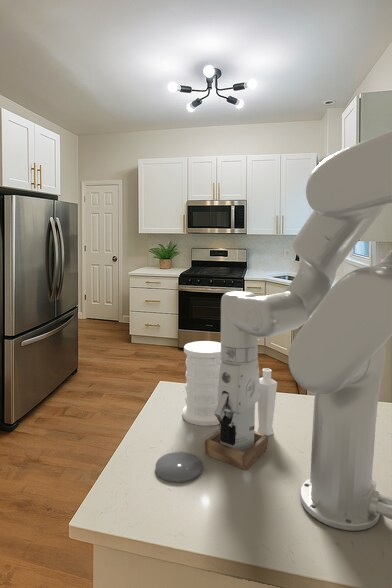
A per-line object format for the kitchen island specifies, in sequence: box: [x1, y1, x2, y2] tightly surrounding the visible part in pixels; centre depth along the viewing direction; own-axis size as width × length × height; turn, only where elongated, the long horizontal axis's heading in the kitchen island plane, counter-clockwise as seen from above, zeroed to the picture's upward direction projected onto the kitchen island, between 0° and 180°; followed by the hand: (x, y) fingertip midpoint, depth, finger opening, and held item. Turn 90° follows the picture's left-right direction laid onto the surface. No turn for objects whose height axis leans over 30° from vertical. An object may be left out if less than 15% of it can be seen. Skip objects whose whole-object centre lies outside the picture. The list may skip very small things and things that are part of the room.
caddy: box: [204, 428, 269, 471], centre depth 80 cm, size 10×10×3 cm
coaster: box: [155, 451, 203, 484], centre depth 74 cm, size 9×9×1 cm
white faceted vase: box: [256, 368, 278, 437], centre depth 87 cm, size 5×4×15 cm
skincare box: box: [221, 403, 256, 453], centre depth 79 cm, size 6×4×12 cm
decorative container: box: [182, 340, 221, 427], centre depth 96 cm, size 12×12×18 cm
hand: (237, 434), depth 79 cm, fingers closed on skincare box, 7 cm apart
